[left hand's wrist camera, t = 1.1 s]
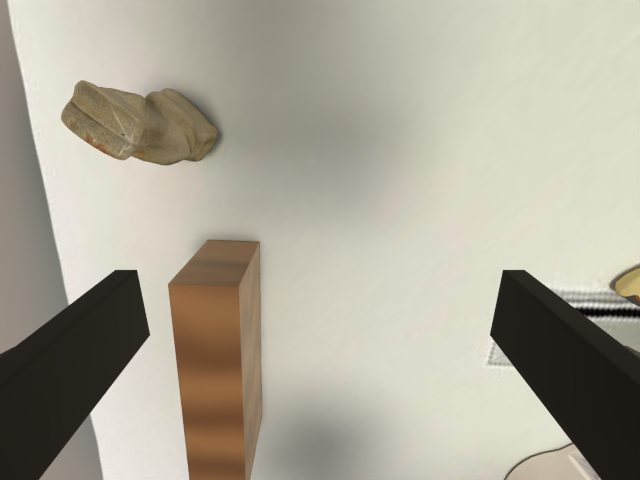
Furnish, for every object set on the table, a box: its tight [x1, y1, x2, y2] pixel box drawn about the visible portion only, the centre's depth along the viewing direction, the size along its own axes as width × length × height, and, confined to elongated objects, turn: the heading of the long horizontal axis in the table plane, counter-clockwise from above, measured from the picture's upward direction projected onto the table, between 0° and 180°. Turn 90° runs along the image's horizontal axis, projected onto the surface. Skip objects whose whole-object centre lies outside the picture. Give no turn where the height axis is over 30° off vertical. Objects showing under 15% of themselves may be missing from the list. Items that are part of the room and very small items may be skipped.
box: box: [168, 240, 262, 480], centre depth 40 cm, size 27×6×12 cm, turn 177°
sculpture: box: [61, 80, 218, 165], centre depth 30 cm, size 6×7×15 cm
